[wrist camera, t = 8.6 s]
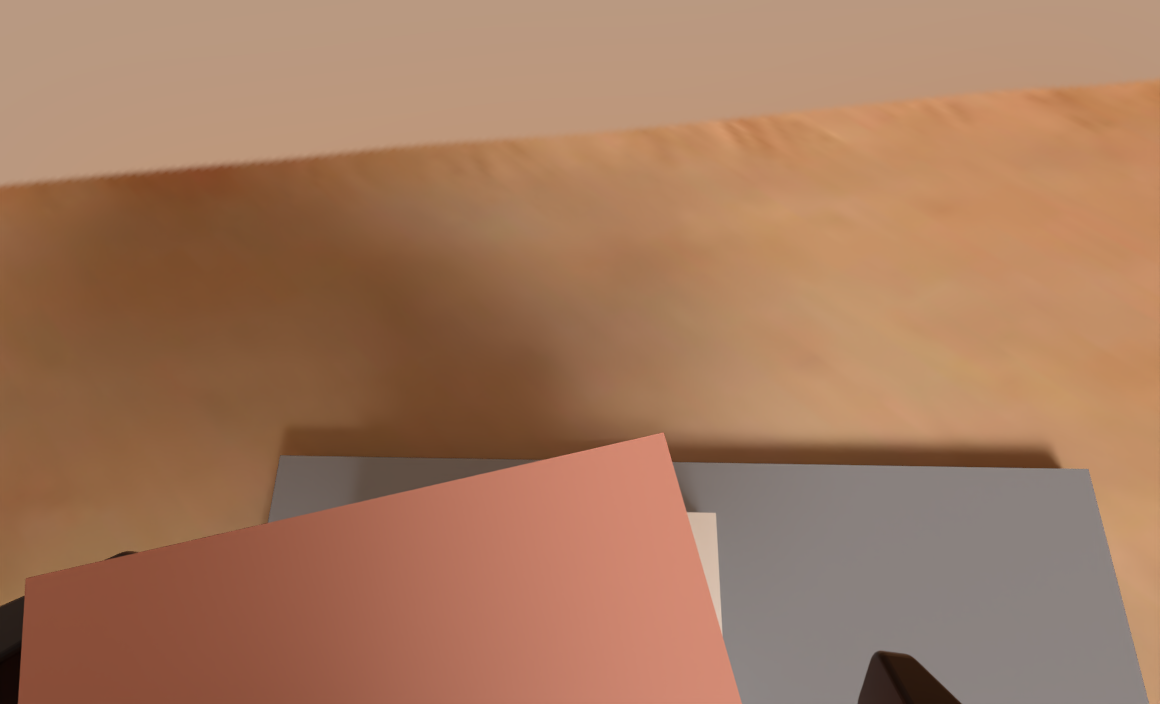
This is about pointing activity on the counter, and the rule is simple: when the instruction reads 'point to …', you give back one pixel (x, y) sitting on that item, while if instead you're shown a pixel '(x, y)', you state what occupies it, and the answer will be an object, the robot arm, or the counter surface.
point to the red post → (406, 601)
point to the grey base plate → (864, 571)
